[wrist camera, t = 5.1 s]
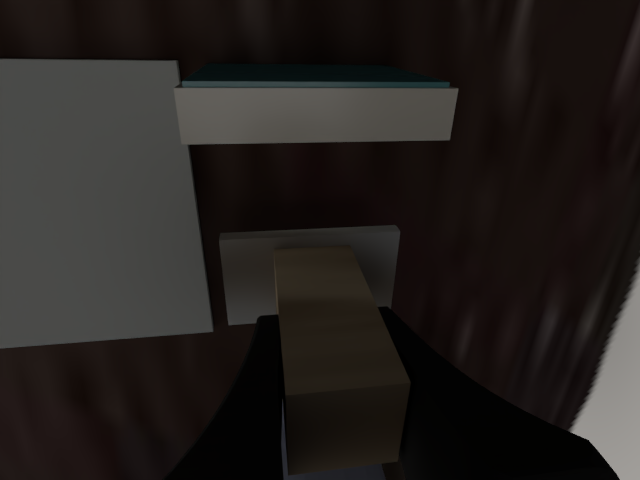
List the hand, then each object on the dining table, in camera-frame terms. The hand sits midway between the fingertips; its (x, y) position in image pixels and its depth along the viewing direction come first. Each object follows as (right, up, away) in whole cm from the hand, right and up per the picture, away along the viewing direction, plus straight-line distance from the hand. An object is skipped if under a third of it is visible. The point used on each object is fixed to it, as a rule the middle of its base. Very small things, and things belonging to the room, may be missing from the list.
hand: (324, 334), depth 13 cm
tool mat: (-12, +4, +6) cm, 14 cm away
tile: (-1, +10, +4) cm, 11 cm away
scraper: (-1, +2, +3) cm, 4 cm away
